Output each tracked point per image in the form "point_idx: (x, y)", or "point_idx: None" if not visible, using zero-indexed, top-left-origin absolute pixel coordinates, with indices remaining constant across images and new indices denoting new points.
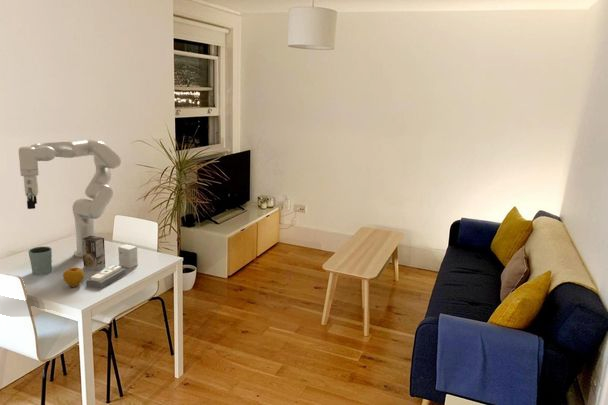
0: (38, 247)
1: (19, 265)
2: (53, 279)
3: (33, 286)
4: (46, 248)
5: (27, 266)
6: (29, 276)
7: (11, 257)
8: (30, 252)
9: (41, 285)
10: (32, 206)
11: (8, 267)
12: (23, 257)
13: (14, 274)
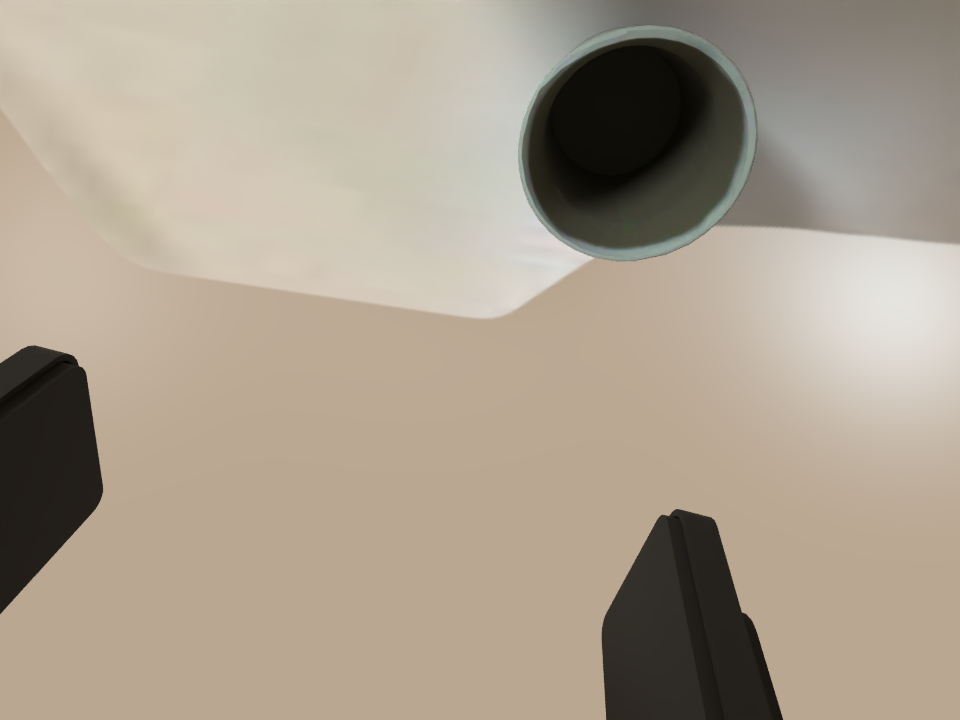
0: (524, 150)
1: (386, 226)
2: (845, 58)
3: (870, 220)
4: (569, 69)
5: (432, 183)
6: None
7: (197, 244)
8: (663, 252)
9: (898, 168)
10: (751, 635)
11: (396, 291)
12: (219, 173)
13: (551, 282)
